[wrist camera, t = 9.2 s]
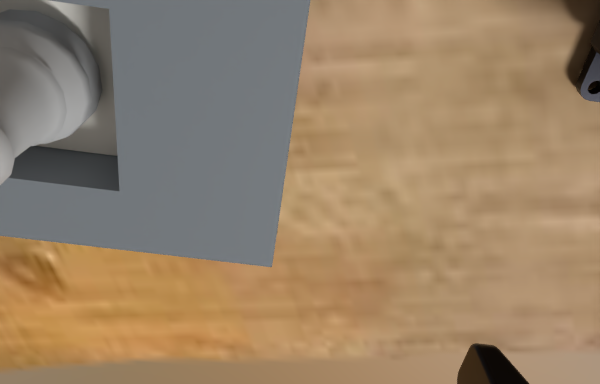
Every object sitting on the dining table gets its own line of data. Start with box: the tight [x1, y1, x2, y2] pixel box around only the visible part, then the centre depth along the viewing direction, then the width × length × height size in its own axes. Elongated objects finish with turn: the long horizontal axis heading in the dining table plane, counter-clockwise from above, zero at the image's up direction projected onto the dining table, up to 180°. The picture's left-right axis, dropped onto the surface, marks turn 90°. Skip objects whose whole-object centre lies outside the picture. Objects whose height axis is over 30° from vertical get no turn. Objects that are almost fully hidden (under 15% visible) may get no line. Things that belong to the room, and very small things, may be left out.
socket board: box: [0, 0, 310, 267], centre depth 19 cm, size 18×12×2 cm, turn 82°
